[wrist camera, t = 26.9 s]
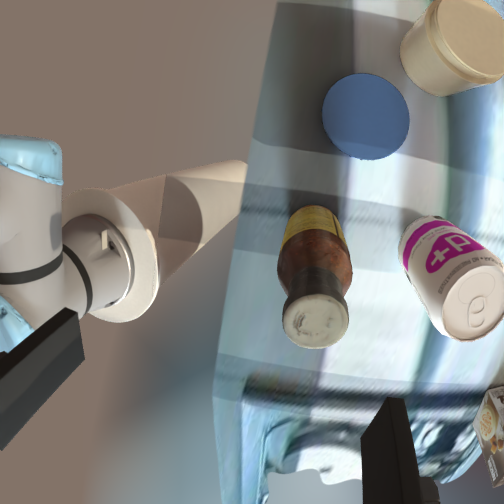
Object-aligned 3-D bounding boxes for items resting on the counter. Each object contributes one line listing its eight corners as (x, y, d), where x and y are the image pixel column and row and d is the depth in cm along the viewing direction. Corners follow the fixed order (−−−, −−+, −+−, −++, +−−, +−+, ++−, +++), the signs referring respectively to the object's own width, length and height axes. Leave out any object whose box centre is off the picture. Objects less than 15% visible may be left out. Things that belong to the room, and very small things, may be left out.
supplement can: (390, 224, 34) (429, 275, 21) (451, 206, 32) (516, 246, 18) (402, 285, 36) (436, 359, 23) (459, 268, 34) (514, 330, 20)
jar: (393, 80, 29) (426, 53, 18) (404, 16, 26) (434, -28, 14) (462, 108, 28) (515, 99, 17) (470, 45, 25) (519, 18, 13)
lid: (310, 88, 31) (309, 84, 29) (389, 70, 29) (393, 65, 26) (335, 168, 34) (337, 169, 32) (414, 149, 31) (420, 150, 29)
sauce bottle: (276, 230, 37) (232, 316, 19) (312, 191, 35) (305, 246, 17) (316, 266, 38) (309, 377, 20) (353, 230, 36) (384, 320, 17)
